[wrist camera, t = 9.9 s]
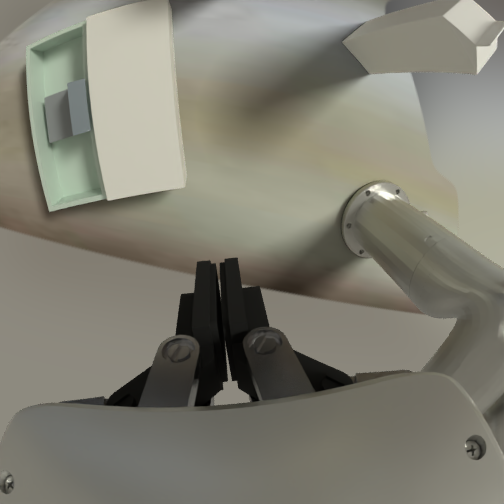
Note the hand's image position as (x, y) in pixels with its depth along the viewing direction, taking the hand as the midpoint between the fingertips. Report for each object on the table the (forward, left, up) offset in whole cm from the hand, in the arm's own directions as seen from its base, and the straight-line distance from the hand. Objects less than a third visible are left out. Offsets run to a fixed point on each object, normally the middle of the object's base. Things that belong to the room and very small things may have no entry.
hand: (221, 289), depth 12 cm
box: (+16, -10, -25) cm, 32 cm away
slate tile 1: (+13, -10, -22) cm, 27 cm away
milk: (-22, -16, -26) cm, 37 cm away
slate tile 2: (+17, -10, -23) cm, 30 cm away
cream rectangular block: (+7, -10, -25) cm, 28 cm away
